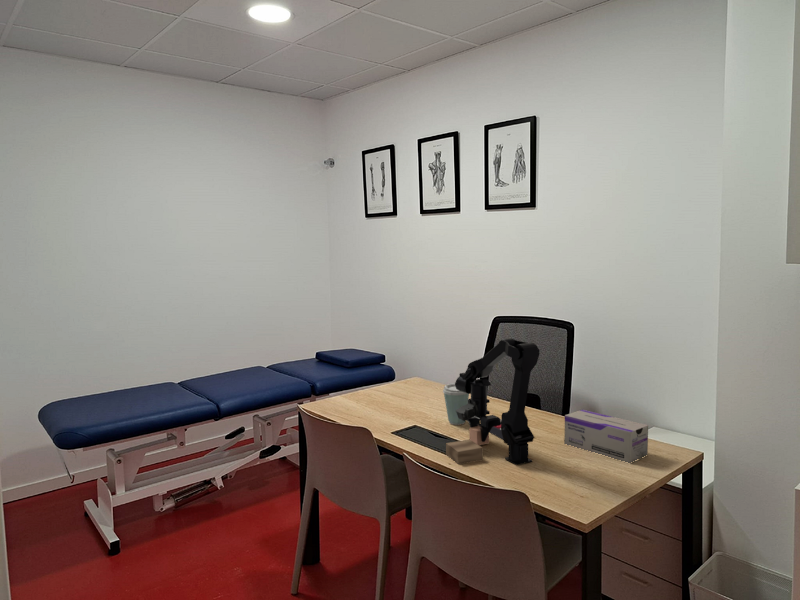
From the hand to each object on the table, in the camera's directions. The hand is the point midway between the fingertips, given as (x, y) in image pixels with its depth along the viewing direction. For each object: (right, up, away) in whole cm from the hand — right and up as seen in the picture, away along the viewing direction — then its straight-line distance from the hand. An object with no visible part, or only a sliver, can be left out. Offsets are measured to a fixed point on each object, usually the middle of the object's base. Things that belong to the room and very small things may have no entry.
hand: (479, 439), depth 209 cm
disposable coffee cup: (-6, 0, +25) cm, 26 cm away
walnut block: (-7, -3, -13) cm, 15 cm away
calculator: (+12, -1, +12) cm, 17 cm away
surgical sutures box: (+42, -2, -8) cm, 43 cm away
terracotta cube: (0, -1, 0) cm, 1 cm away
